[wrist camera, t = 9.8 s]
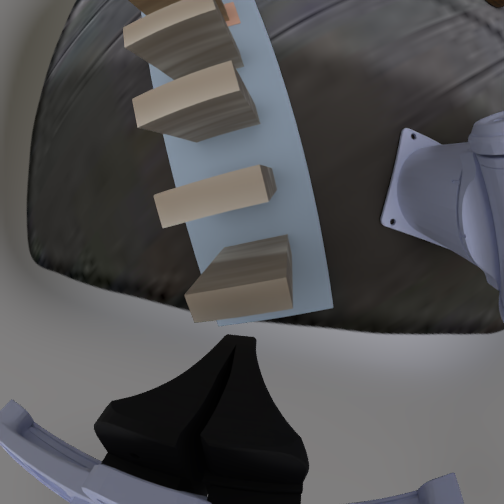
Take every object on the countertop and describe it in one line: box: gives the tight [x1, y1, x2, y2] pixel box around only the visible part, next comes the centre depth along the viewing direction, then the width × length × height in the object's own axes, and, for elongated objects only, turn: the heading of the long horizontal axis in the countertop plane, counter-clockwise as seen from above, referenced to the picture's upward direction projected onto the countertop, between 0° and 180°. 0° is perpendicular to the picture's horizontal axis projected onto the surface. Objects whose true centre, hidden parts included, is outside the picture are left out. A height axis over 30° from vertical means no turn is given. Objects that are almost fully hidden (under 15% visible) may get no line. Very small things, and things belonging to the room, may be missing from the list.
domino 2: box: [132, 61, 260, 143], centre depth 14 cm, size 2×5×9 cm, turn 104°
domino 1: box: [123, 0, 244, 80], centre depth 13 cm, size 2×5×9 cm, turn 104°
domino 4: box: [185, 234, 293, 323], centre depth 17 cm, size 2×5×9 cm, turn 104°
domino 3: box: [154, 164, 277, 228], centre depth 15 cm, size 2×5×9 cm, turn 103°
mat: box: [141, 0, 333, 326], centre depth 18 cm, size 32×10×1 cm, turn 14°
